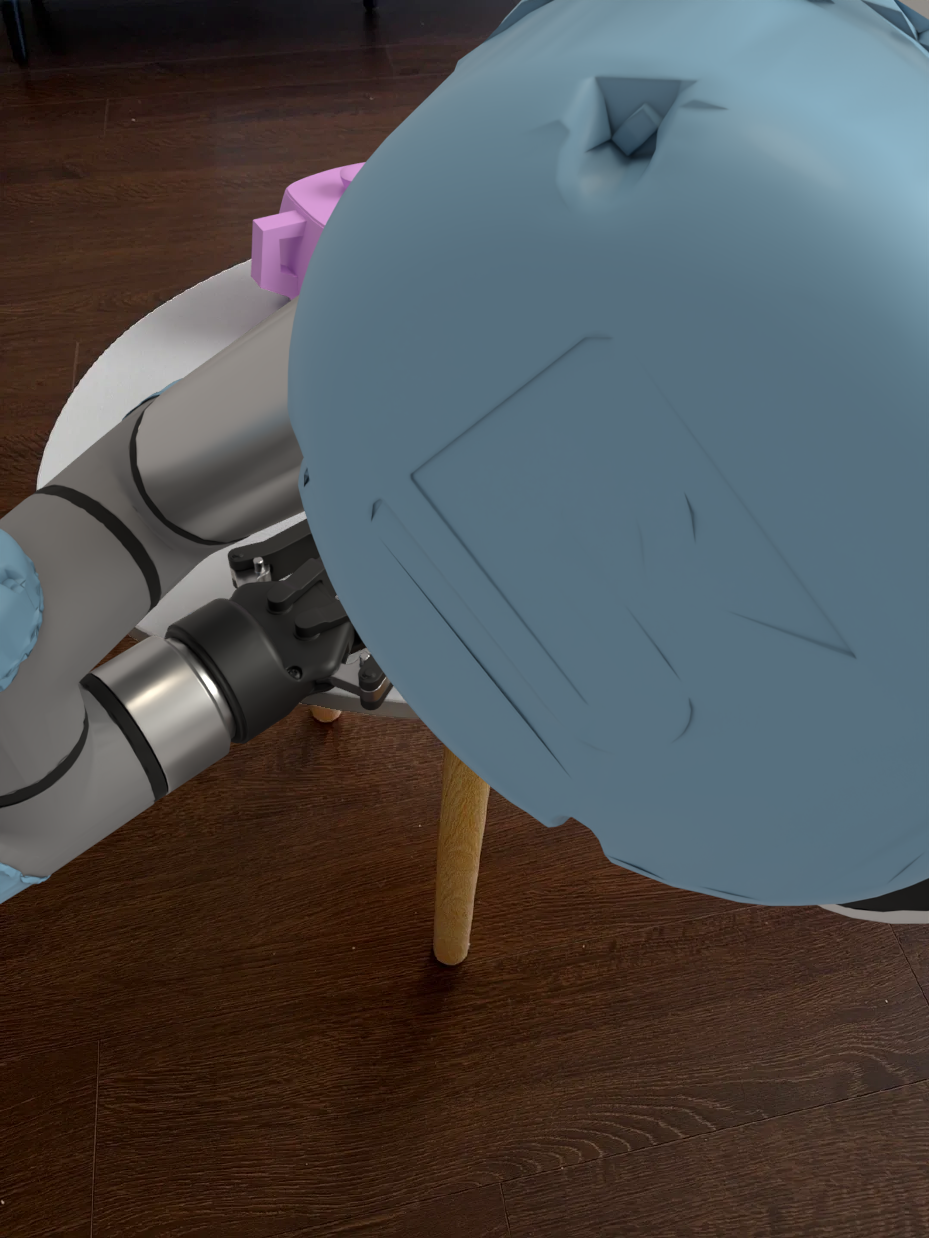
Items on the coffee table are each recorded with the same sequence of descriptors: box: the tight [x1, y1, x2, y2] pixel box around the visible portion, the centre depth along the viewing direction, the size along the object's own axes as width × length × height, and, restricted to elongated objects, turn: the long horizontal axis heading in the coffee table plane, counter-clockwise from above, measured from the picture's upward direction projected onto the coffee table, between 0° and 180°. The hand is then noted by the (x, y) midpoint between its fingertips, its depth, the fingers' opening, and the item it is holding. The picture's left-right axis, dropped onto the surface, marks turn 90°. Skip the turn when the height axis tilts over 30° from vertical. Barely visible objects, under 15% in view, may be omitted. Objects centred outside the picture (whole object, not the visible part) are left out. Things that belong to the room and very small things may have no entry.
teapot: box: [250, 161, 366, 301], centre depth 91 cm, size 20×12×13 cm, turn 122°
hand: (509, 496), depth 69 cm, fingers closed on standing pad, 4 cm apart
